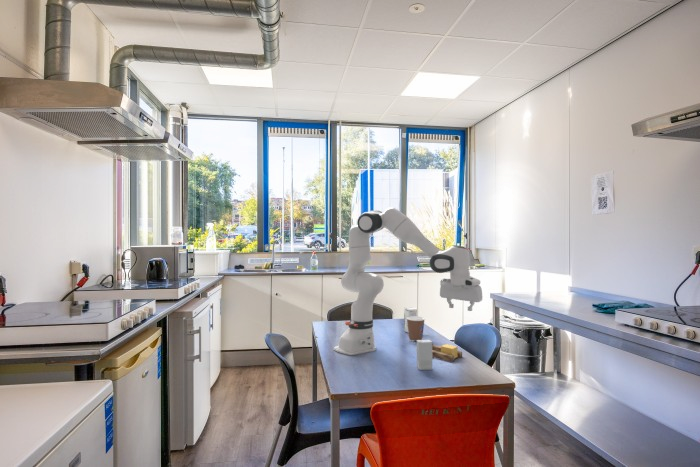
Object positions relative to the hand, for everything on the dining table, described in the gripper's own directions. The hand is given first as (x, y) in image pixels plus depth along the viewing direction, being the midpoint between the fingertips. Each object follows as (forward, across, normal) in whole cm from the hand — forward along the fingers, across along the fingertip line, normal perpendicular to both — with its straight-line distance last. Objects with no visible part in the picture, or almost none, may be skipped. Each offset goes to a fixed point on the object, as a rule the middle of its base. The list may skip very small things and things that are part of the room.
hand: (460, 309), depth 172 cm
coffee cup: (+25, -34, +13) cm, 44 cm away
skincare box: (+23, -5, -23) cm, 33 cm away
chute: (+24, -9, -2) cm, 25 cm away
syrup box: (+25, -46, +25) cm, 58 cm away
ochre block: (+24, -5, -2) cm, 24 cm away
